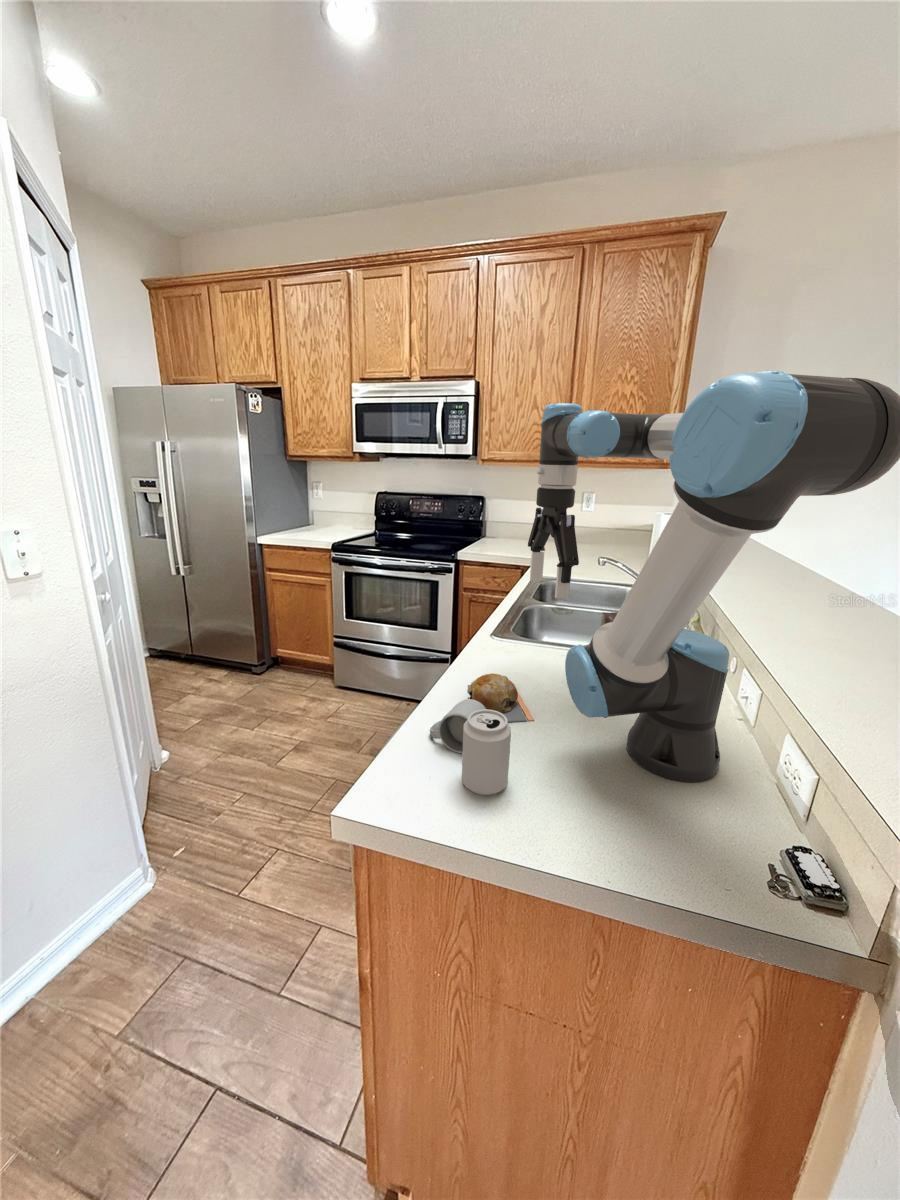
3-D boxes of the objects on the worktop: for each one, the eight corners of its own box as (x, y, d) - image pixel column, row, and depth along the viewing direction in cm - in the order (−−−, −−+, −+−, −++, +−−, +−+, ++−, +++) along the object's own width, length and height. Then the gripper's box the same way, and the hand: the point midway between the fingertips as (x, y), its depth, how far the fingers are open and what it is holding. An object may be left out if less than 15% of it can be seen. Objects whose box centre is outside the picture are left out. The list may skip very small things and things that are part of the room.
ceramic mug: (491, 734, 92) (492, 697, 90) (477, 758, 85) (478, 719, 83) (439, 722, 96) (439, 688, 94) (422, 745, 89) (422, 707, 86)
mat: (534, 720, 97) (534, 719, 97) (483, 724, 95) (483, 723, 95) (512, 683, 112) (512, 682, 112) (467, 686, 110) (467, 685, 110)
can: (494, 805, 74) (498, 737, 70) (452, 787, 78) (454, 721, 74) (515, 778, 80) (519, 714, 76) (475, 763, 84) (478, 701, 80)
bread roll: (491, 732, 99) (507, 706, 95) (455, 698, 103) (469, 672, 98) (515, 712, 106) (531, 687, 102) (481, 681, 110) (495, 656, 106)
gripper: (517, 482, 108) (511, 574, 114) (566, 492, 85) (556, 607, 91) (548, 482, 110) (541, 573, 116) (605, 492, 86) (592, 605, 93)
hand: (548, 588), depth 104 cm, fingers open, 13 cm apart
